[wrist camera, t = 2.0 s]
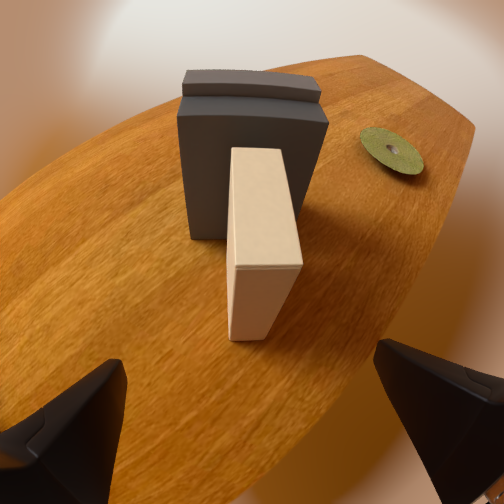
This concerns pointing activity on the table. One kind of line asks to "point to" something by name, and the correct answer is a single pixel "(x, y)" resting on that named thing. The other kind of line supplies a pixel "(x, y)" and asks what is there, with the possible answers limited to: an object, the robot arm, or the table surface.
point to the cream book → (259, 242)
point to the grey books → (244, 136)
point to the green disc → (392, 150)
